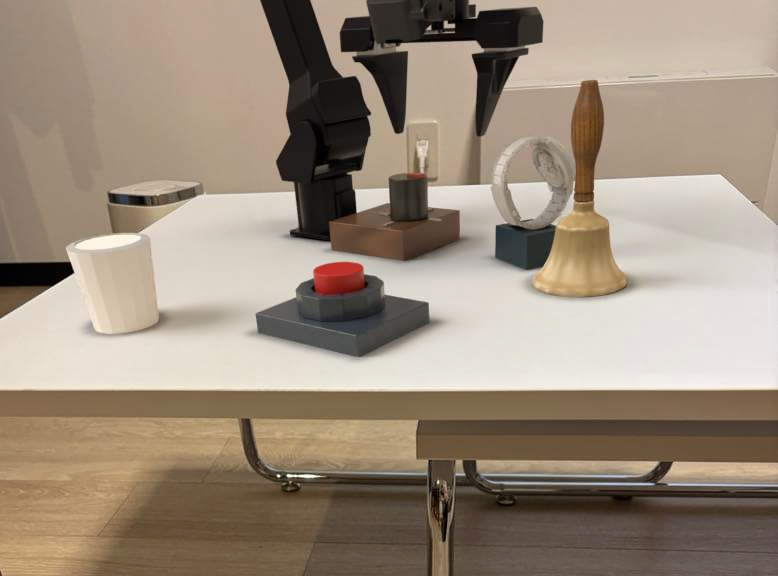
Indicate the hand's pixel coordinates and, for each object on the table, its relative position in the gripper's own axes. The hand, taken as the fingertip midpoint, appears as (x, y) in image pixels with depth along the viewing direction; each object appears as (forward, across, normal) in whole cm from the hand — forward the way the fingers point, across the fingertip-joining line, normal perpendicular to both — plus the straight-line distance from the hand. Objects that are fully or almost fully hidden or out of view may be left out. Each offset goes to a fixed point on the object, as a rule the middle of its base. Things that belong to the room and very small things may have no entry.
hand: (438, 134), depth 80 cm
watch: (+11, +10, 0) cm, 15 cm away
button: (+8, +5, -24) cm, 26 cm away
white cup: (+11, -14, -31) cm, 36 cm away
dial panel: (+11, -6, 0) cm, 12 cm away
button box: (+11, +5, -24) cm, 27 cm away
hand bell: (+11, +18, -6) cm, 22 cm away
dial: (+8, -4, 0) cm, 9 cm away
